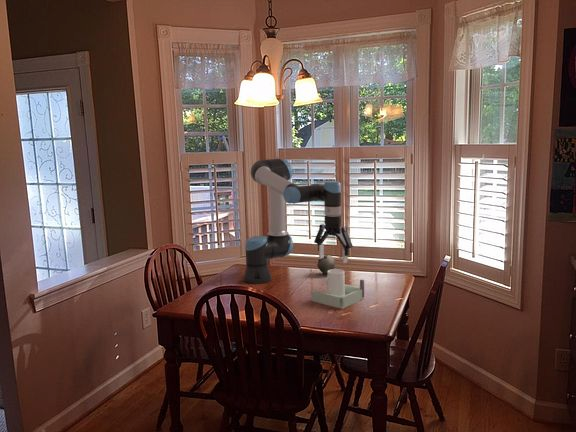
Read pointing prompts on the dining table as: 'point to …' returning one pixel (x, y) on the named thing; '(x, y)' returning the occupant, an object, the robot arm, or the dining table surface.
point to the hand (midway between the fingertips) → (333, 260)
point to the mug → (335, 282)
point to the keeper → (350, 297)
